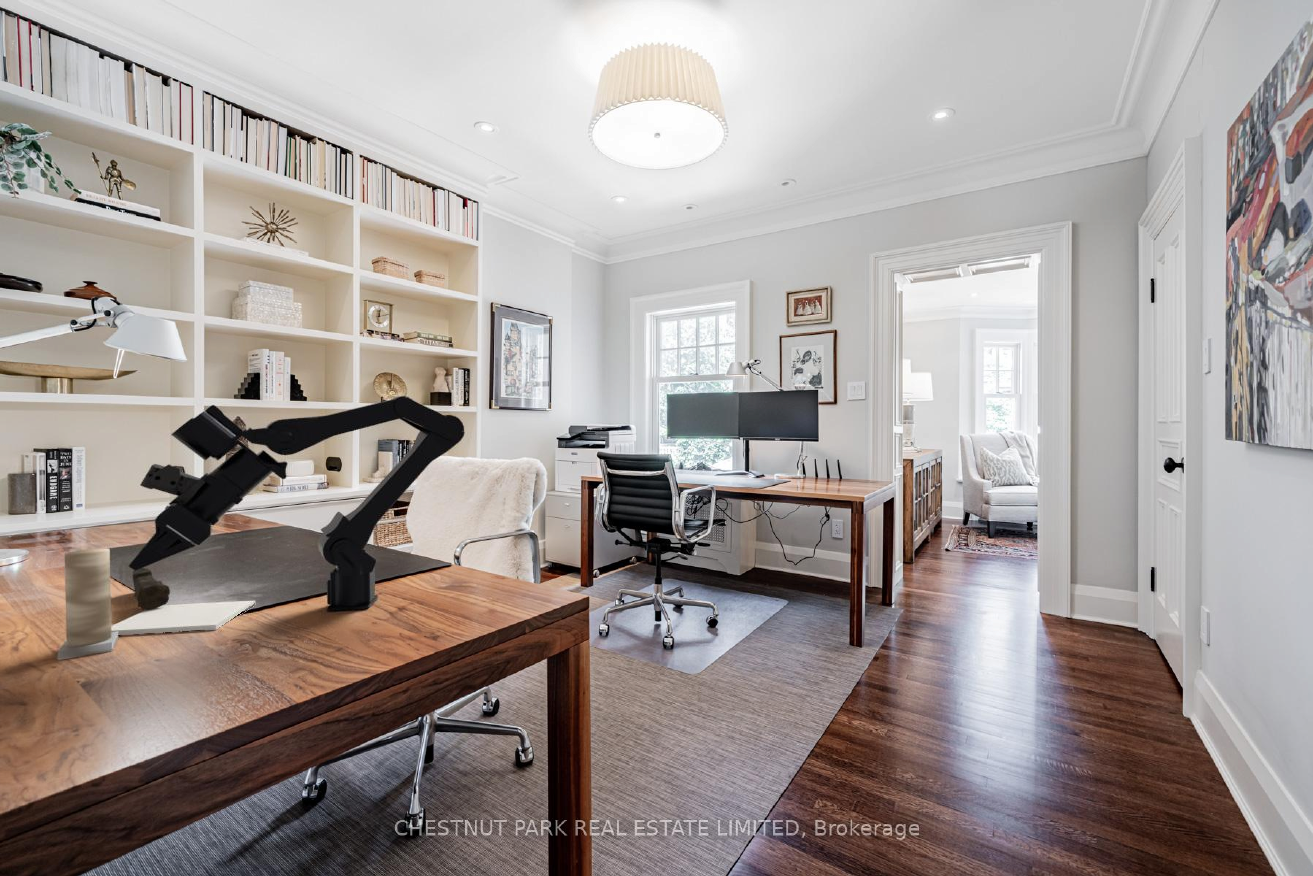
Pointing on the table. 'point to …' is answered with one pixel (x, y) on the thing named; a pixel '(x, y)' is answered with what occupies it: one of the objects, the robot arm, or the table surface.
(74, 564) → the beige pillar on pedestal
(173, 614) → the mat
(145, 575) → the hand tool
